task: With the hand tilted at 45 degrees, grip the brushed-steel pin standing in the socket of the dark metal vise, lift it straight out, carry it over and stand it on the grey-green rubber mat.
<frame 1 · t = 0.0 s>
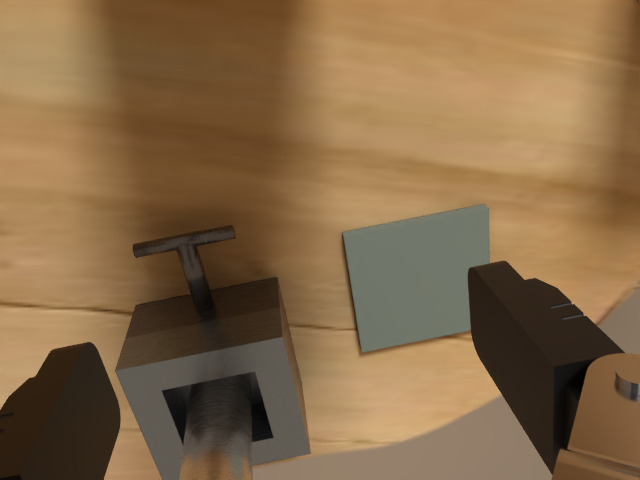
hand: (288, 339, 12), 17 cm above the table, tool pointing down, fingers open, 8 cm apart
vise: (223, 346, 33), on the table
steel pin: (221, 381, 30), point 3 cm above the table, touching vise
mat: (419, 279, 32), on the table
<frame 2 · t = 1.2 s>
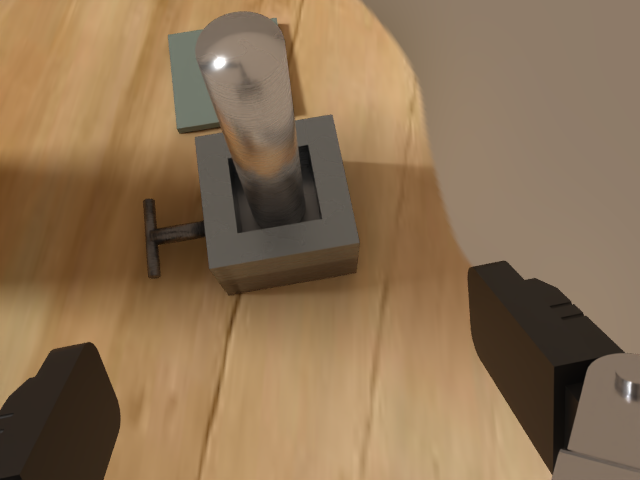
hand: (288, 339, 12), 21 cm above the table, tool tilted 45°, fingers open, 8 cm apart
vise: (282, 224, 36), on the table
steel pin: (278, 206, 33), point 3 cm above the table, touching vise
mat: (230, 76, 40), on the table
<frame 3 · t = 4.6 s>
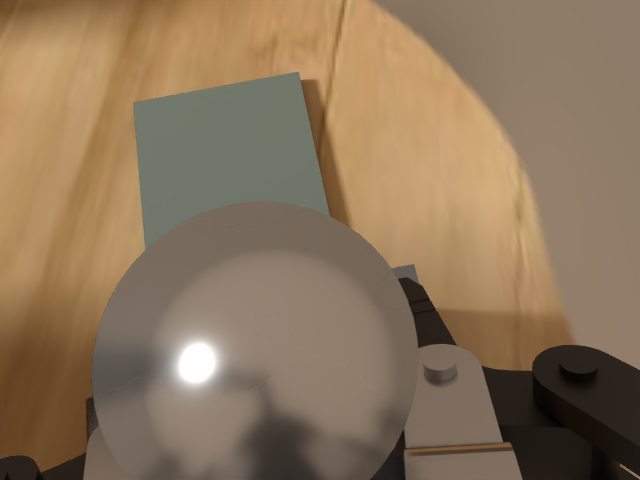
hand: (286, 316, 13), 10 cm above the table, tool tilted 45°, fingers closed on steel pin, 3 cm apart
vise: (321, 426, 21), on the table
steel pin: (318, 422, 18), point 3 cm above the table, touching gripper, vise
mat: (229, 165, 26), on the table
when the fingers open (9 cm above the table, at t = 10.6 s): steel pin drops 1 cm, resting on mat.
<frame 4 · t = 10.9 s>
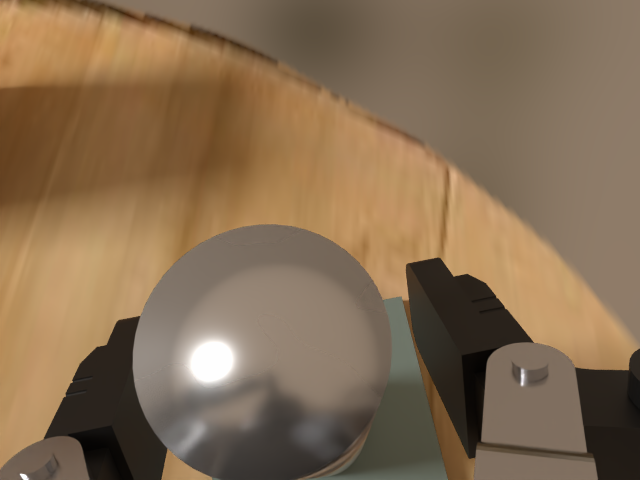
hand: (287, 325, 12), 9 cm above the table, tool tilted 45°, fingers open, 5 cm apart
steel pin: (321, 428, 20), point 1 cm above the table, touching mat
mat: (319, 425, 20), on the table
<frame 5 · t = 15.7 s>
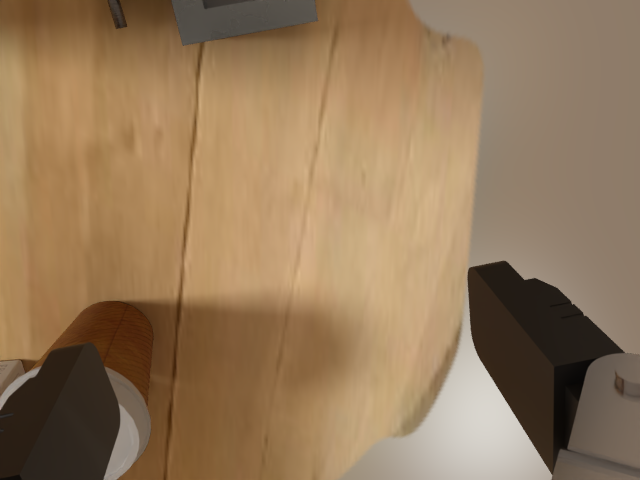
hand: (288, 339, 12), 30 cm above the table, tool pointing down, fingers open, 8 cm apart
disposable coffee cup: (114, 332, 46), on the table
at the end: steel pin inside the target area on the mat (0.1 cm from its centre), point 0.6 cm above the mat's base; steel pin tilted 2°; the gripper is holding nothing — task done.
